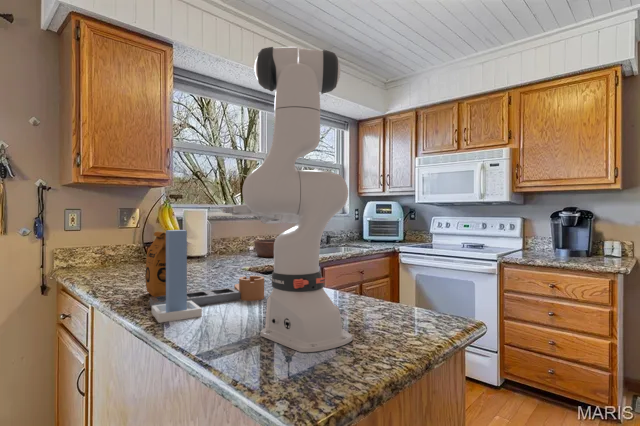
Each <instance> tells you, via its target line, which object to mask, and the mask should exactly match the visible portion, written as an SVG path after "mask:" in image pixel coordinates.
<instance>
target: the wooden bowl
mask: <svg viewBox="0 0 640 426" xmlns="http://www.w3.org/2000/svg"><path fill="white" fill-rule="evenodd" d="M275 240H276V238H275V239H274V238H272V239H271V238H270V239H269V238H267V239H266V238H265V239H256V240H254V249H255V252H256V255H258V257H260V258H274V242H275Z"/></svg>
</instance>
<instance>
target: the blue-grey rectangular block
mask: <svg viewBox="0 0 640 426" xmlns="http://www.w3.org/2000/svg"><path fill="white" fill-rule="evenodd" d="M165 233H166V313H167V312H174V311H181V310H187V293H188V290H187V289H188V285H187V284H188V274H187V273H188V260H187V259H188V247H187V246H188V241H187V240H188V239H187V238H188V236H187V235H188V231H187V230H186V229H170V230H169V229H168V230H166V229H165Z"/></svg>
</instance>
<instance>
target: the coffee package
mask: <svg viewBox="0 0 640 426" xmlns="http://www.w3.org/2000/svg"><path fill="white" fill-rule="evenodd" d="M153 236H154V237H155V239H154V240H153V241H152V243H151V244H150V245H149V247H148V250H147V252H146V258H145V259H146V261H145V275H144V278H145V286H146V292H147V293H148V294H149V295H150V296H151V297H155V296H163V295H166V231H165V232H163V231H158V230H157V231H155V232H154V234H153Z"/></svg>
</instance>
